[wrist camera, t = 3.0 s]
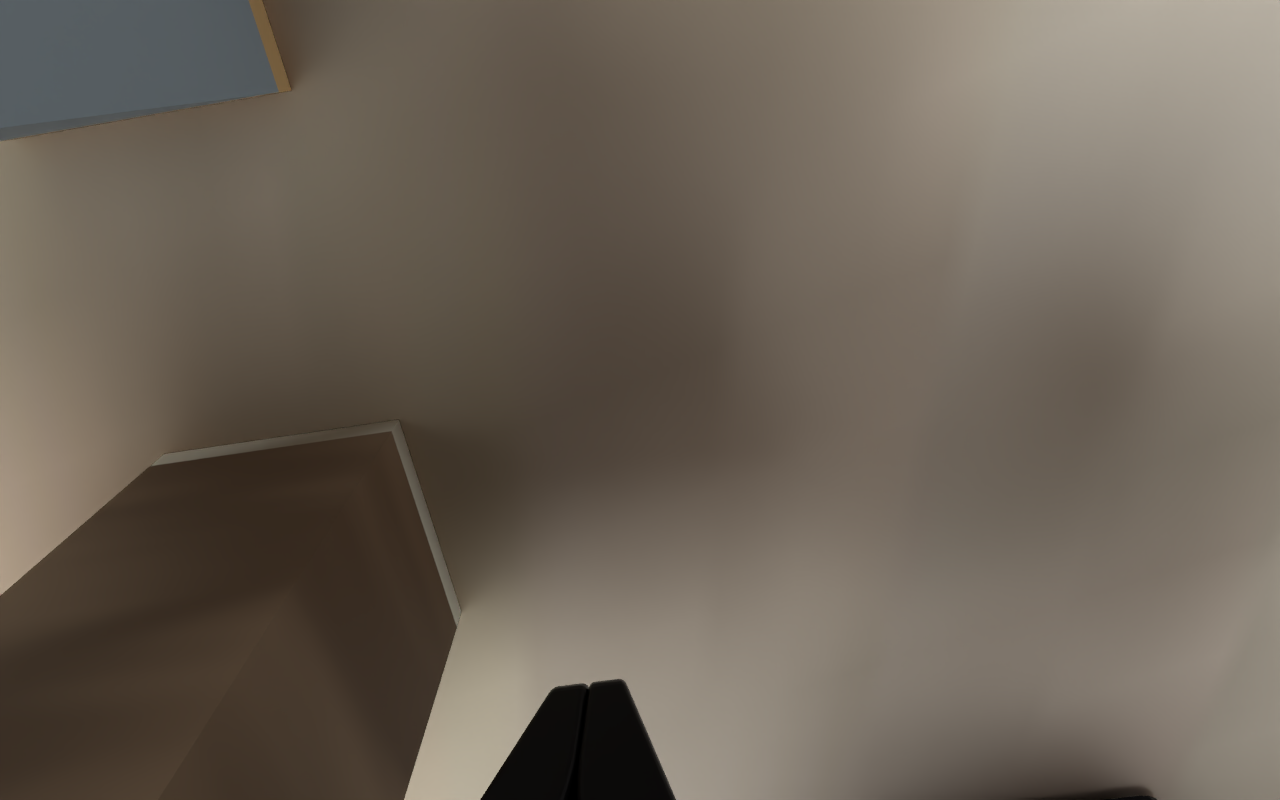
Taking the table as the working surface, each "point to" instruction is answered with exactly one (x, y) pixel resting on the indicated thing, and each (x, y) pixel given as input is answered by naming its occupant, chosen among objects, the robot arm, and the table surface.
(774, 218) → the table surface
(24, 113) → the slate block
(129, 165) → the table surface
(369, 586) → the walnut block
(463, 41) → the table surface
